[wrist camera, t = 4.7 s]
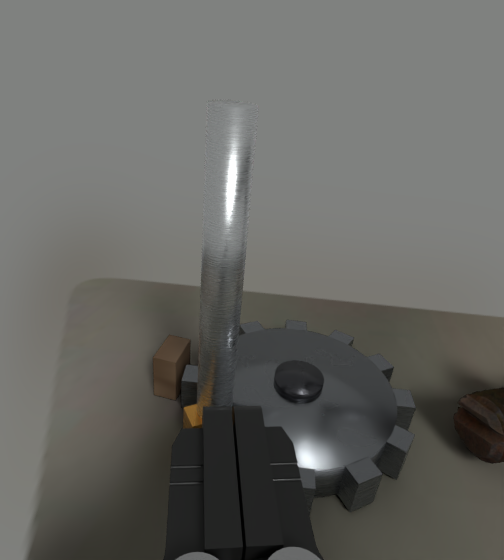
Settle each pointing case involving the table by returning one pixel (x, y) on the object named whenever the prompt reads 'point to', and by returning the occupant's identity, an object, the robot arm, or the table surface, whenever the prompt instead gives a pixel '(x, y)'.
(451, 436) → the table surface
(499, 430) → the bolt
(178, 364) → the brown block
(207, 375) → the sprocket
